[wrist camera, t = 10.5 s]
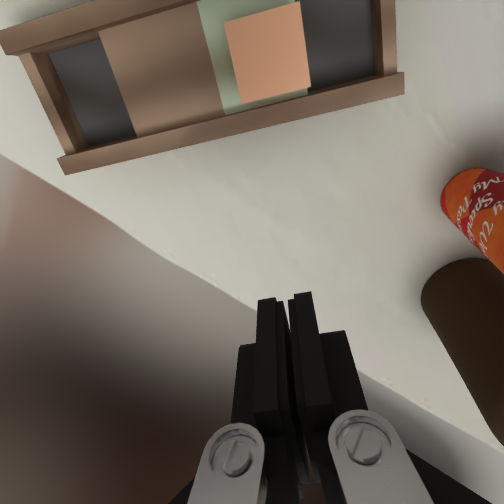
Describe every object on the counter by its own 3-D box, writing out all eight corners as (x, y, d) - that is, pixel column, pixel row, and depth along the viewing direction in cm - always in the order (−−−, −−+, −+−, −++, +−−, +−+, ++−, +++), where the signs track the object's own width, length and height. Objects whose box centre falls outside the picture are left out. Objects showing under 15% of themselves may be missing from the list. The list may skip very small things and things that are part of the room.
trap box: (31, 37, 29) (-6, 32, 25) (379, -71, 25) (399, -98, 21) (88, 163, 34) (65, 175, 30) (386, 91, 30) (404, 94, 26)
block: (229, 29, 26) (223, 22, 22) (295, 11, 25) (299, 0, 21) (245, 99, 28) (241, 103, 24) (305, 84, 27) (311, 86, 24)
